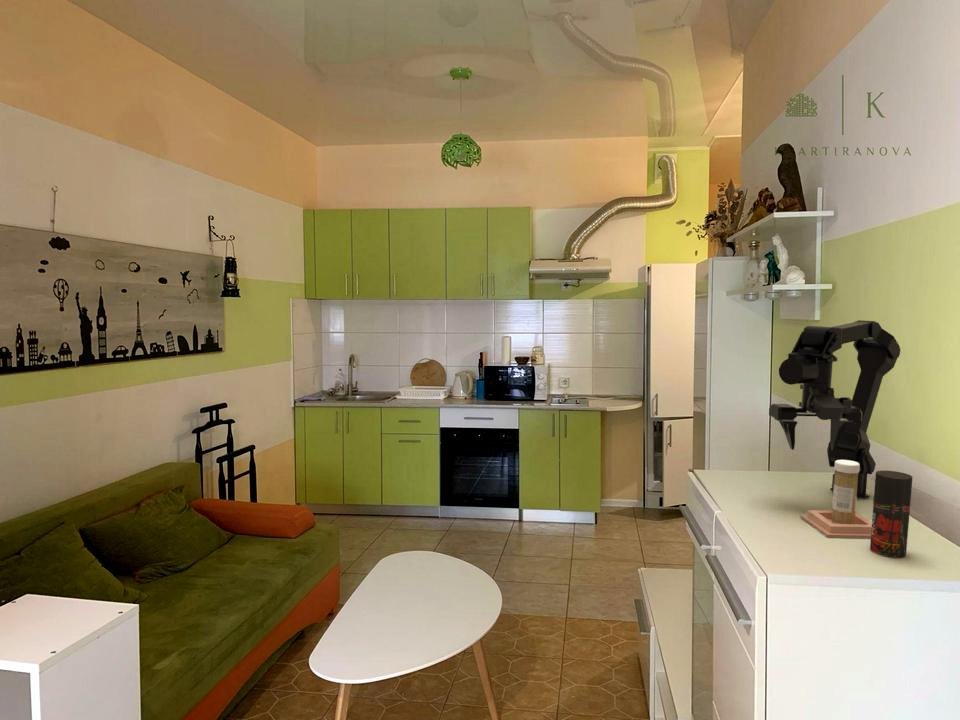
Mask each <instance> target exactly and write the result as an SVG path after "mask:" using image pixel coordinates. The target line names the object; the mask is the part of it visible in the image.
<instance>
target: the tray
mask: <svg viewBox="0 0 960 720" xmlns="http://www.w3.org/2000/svg"><path fill="white" fill-rule="evenodd" d="M806 512H807V513H806V514H800V516H799V518H800V517H801V518H802V519H801V518H800V519H801V520H803V519H804V520H805V521H807V522H808V523H810V524H811V525H812V526H814V527H815V528H816V529H817V530H816V529H815V528H814V527H813V528H814V529H815V530H816V531H817V532H819V531H820V532H821V533H820V532H819V533H820V534H821V535H823V534H824V535H825V536H824V535H823V536H824V537H826V538H827V537H830V538H829V539H831V538H832V539H871V529H872V520H870V519H868V518H866V517H864V516H863V515H861V514H860V513H858V512H855V524H834V523H832V522H831V520H832V510H820V509H819V510H815V509H814V510H813V509H812V510H809V509H808V510H807V511H806ZM804 520H803V521H804ZM805 521H804V522H805ZM807 522H806V523H807ZM808 523H807V524H808ZM810 524H809V525H810ZM811 525H810V526H811ZM812 526H811V527H812Z"/></svg>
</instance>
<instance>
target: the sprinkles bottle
mask: <svg viewBox="0 0 960 720" xmlns="http://www.w3.org/2000/svg"><path fill="white" fill-rule="evenodd" d="M833 468H834V474H835V479H834V490H833V491H832V510H831V511H832V520H831V522H832V523H834V524H855V512H856V511H857V501H858V498H857V483H858V473H859V468H860V464H859V463H857V462H855V461H850V460H836V461H835V466H834V467H833Z"/></svg>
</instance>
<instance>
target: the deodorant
mask: <svg viewBox="0 0 960 720" xmlns="http://www.w3.org/2000/svg"><path fill="white" fill-rule="evenodd" d="M913 477H914V476H912V475H910V474H908V473H905V472H901V471H900V472H899V471H894V470H877V471H876V472H875V481H874V492H873V493H874V494H873V505H872V518H871V522H872V529H871V538H870V543H869V550H870V551H871V552H872V553H873V554H876V555H879V556H882V557H886V558H892V559H902V558H906V556H907V549H908V548H907V547H908V538H909V537H908V535H909V524H910V523H909V521H910V512H911V502H912V501H911V499H912V489H913V488H912V487H913Z"/></svg>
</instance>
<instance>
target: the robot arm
mask: <svg viewBox="0 0 960 720" xmlns="http://www.w3.org/2000/svg"><path fill="white" fill-rule="evenodd" d="M848 343H853V345H852V346H853V347H854V349H855V350H856V352H857V355H856V360H857V363H858V365H859V369H860V373H859V376H858V379H857V382H856V384H855V385H856V386H855V389H854V392H853V395H852V399H851V398H850V397H848V396H847V397H846V396H842V397H835V390H834V389H835V388H834V387H832V379H833V378H832V374H833V363H835V362H838V357H837V356H836V355H835V354H833V353H836V352H837V351H838V350H841V348H842V347H843V346H842V345H844V344H848ZM900 354H901V347H900V345H899V343H898V341H897V340H896V338H895V336H894V335H893V334H891V333H890V332H889V331H886V330H885V329H883V327H882V326H881V324H880V323H879V322H877V321H875V320H860V319H858V320H856V321H853V322H848V323H845V324H839V325H834V326H821V325H819V326H818V325H807V326H805V327H804V328H803V331H801V333H800V334H799V336H798V338H797V340H796V343H795V345H794V347H793V348H792V350H791V352H789V353H788V354H787V355H788V356H787V359H784V360H783V361H782V362H781V364H780V366H779V367H778V375H779V377H780V379H781V381H782V382H783V383H784V384H787V385H792V386H793V385H799V388H800V390H802V392H801V393H802V394H801V401H799V402H798V407H795V406H793V405H790V404H787V403H772V404H771V405H770V406H769V408H768V416H769V417H772V418H774V420H775V421H778V422H779V424H780V426H781V428H782V430H783V433H784V435H785V437H786V441H787V443H788V446H789V448H790V450H793V451H794V450H795V445H796V426H797V425H798V421H796V420H795V419H796V418H797V417H817V418H818V419H819V420H821V421H828V420H830V431H829V432H830V434H829V435H830V437H829V441H828V444H827V448H826V453H827V459H828V465H829V467H830V468H834V466H835V461H836V460H850V461H855V462H857V463H859V464H860V468H859V473H858V483H857V499H858V498H859V499H860V498H862V499H863V498H864V499H867V498H868V499H870V497H871V496H870V495H869V494H867V484H868V475H872V474H873V473H874V472H875V469H876V465H877V464H876V461H875V460H874V457H873V456H872V455H871V453H870V448H871V443H870V440H869V437H868V435H867V432H868V429H869V424H870V420H871V417H872V414H873V411H874V408H875V406H876V405H875V404H876V401H877V398H878V394H879V391H880V388H881V385H882V382H883V381H882V380H883V378H884V376H885V375H887V374H888V373H889V372H890V371H891V370H892V369H894V368H895V365H896V363H897V361H898V358H900ZM834 479H835V473H833V474H832V484H831V487H830V489H829V490H830V491H832V492H833V490H834Z"/></svg>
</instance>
